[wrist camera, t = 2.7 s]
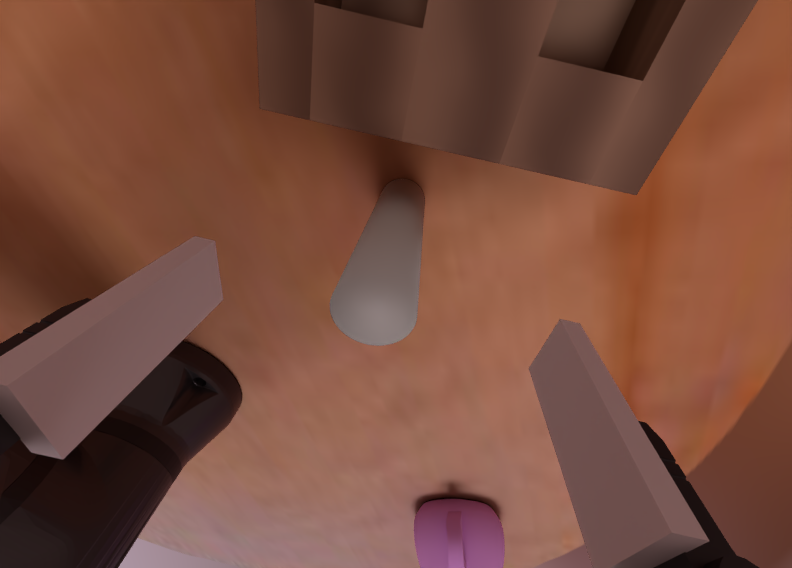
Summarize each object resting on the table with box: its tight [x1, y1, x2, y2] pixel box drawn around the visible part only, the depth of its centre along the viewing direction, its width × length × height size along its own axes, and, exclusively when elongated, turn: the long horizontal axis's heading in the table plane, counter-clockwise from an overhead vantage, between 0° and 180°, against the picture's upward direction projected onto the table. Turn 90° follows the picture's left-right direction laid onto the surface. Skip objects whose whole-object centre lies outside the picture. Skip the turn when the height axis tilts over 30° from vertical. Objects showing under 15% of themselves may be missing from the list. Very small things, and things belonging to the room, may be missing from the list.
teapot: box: [414, 499, 504, 568], centre depth 45 cm, size 13×20×11 cm
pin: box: [330, 179, 425, 346], centre depth 18 cm, size 3×3×14 cm
